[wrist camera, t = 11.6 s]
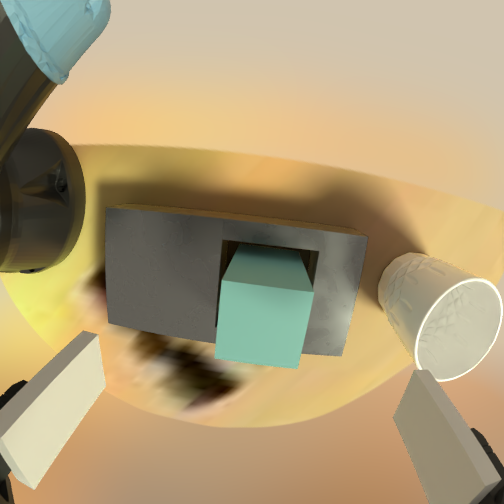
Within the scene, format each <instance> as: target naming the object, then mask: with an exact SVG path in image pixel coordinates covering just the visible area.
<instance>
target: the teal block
mask: <svg viewBox="0 0 504 504" xmlns="http://www.w3.org/2000/svg"><path fill="white" fill-rule="evenodd" d="M313 296H314V290H313V288H312V285H311V282H310V280H309V277H308V275H307V272H306V269H305V267H304V264H303V262H302V259H301V257H300V254H299V252H298V251H292V250H285V249H277V248H270V247H263V246H255V245H248V244H239V246H238V248H237V250H236V252H235V254H234V256H233V258H232V260H231V262H230V264H229V266H228V268H227V270H226V273H225V275H224V277H223V279H222V283H221V293H220V303H219V314H218V325H217V336H216V347H215V358H216V359H223V360H229V361H236V362H243V363H250V364H258V365H266V366H274V367H284V368H293V369H298V365H299V360H300V356H301V352H302V348H303V343H304V339H305V334H306V330H307V325H308V321H309V316H310V311H311V306H312V301H313Z"/></svg>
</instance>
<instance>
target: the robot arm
mask: <svg viewBox="0 0 504 504" xmlns="http://www.w3.org/2000/svg"><path fill="white" fill-rule="evenodd" d="M110 13H111V5H110V1H109V0H0V272H5V273H17V272H20V273H27V274H33V273H39V272H42V271H44V270H47V269H49V268H51V267H53V266H55V265H57V264H59V263H60V262H62V261H63V260H64V259H65V258H66V257H67V256H68V255H69V253H70V252H71V251H72V249H73V248H74V246H75V244H76V242H77V240H78V237H79V235H80V232H81V229H82V225H83V220H84V214H85V202H86V196H85V183H84V177H83V173H82V169H81V166H80V163H79V160H78V158H77V156H76V154H75V152H74V150H73V149H72V147H71V146H70V145H69V143H68V142H67V141H66V140H65V139H64V138H63V137H62V136H60V135H59V134H57V133H55V132H52V131H49V130H44V129H37V128H27V126H28V125H29V124H30V122H31V120H32V119H33V118H34V116H35V115H36V113H37V112H38V110H39V109H40V108H41V106H42V105H43V103H44V102H45V101H46V99H47V98H48V97H49V95H50V94H51V93H52V91H53V90H54V89H55V87H56V86H57V85H58V84H63V83H64V82H65V81H66V80H67V78H68V76H69V71H70V70H71V68H72V67H73V66H74V65H75V63H76V62H77V61H78V60H79V58H80V57H81V56H82V55H83V54H84V53H85V51H86V50H87V49H88V48H89V47H90V46H91V44H92V43H93V42H94V41H95V40H96V39H97V38H98V37H99V36H100V34H101V33H102V32H103V30H104V29H105V27H106V25H107V24H108V21H109V18H110ZM26 128H27V129H26ZM105 387H106V383H105V377H104V371H103V365H102V359H101V352H100V345H99V337H98V334H94V333H91V332H87V331H82V332H81V333H80V334H79V335H78V336H77V337H76V338H74V339H73V340H72V341H71V342H70V343H69V344H68V345H67V346H66V347H65V348H64V349H63V350H61V351H60V352H59V353H58V354H57V355H56V356H55V357H54V358H53V359H52V360H51V361H50V362H49V363H48V364H47V365H46V366H44V367H43V368H42V369H41V370H40V371H39V372H38V373H37V374H36V375H35V376H34V377H33V378H32V379H31V380H30V381H29V382H27V381H25V380H22V381H20V382H18V383H16V384H14V385H12V386H11V387H10V388H9V389H8V390H7V391H6V392H5V393H4V395H3V394H2V395H1V396H0V504H15V503H14V499H13V494H12V488H11V482H10V479H9V477H8V474H9V473H10V471H12V473H13V474H14V475H15V477H16V478H17V480H19V481H20V482H22V483H23V484H25V485H27V486H29V487H30V488H32V489H34V490H35V488H36V487H37V485H38V484H39V482H40V481H41V479H42V478H43V476H44V475H45V473H46V471H47V470H48V468H49V467H50V465H51V464H52V462H53V461H54V460H55V458H56V457H57V455H58V453H59V452H60V450H61V449H62V448H63V446H64V445H65V443H66V442H67V440H68V439H69V437H70V436H71V434H72V433H73V432H74V430H75V429H76V427H77V426H78V424H79V423H80V422H81V420H82V419H83V417H84V416H85V414H86V413H87V411H88V410H89V408H90V407H91V406H92V405H93V403H94V402H95V400H96V399H97V398H98V396H99V394H100V393H101V392H102V391H103V389H104V388H105ZM393 419H394V421H395V423H396V425H397V428H398V430H399V432H400V435H401V437H402V439H403V441H404V443H405V446H406V448H407V450H408V453H409V455H410V458H411V460H412V462H413V465H414V467H415V469H416V472H417V474H418V477H419V479H420V482H421V484H422V486H423V489H424V492H425V494H426V497H427V499H428V502H429V504H504V467H503V465H502V464H501V462H500V461H499V459H498V457H497V456H496V454H495V453H493V450H492V448H491V447H490V446H488V442H487V441H486V439H485V438H484V436H483V435H482V434H481V433H480V432H478V431H477V430H476V429H474V428H471V429H470V428H469V426H468V425H467V424H466V422H465V421H464V419H463V418H462V416H461V415H460V413H459V412H458V410H457V409H456V407H455V406H454V405H453V403H452V402H451V400H450V399H449V398H448V396H447V395H446V393H445V392H444V391H443V389H442V388H441V386H440V385H439V383H438V382H437V381H436V379H435V378H434V377H433V375H432V374H431V372H430V371H429V370H428V369H426V370H414V371H413V374H412V376H411V379H410V381H409V383H408V386H407V388H406V390H405V393H404V395H403V397H402V399H401V401H400V404H399V406H398V408H397V410H396V412H395V414H394V416H393Z"/></svg>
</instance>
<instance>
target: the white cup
mask: <svg viewBox="0 0 504 504" xmlns="http://www.w3.org/2000/svg"><path fill="white" fill-rule="evenodd" d="M378 302H379V303H380V305H381V307H382V309H383V311H384V313H385V314H386V316H387V317H388V321H389V322H390V324H391V326H392V327H393V329H394V331H395V332H396V334H397V336H398V338H399V339H400V341H401V342H402V344H403V346H404V347H405V349H406V350H407V352H408V353H409V355H410V357H411V358H412V360H413V362H414V363H415V365H416V366H417V368H418V370H426V369H428V370H429V371H430V372H431V374H432V375H433V377H434V378H435V379H436V381H448V380H452V379H455V378H458V377H460V376H462V375H464V374H466V373H467V372H469V371H470V370H471V369H473V368H474V367H475V366H476V365H477V364H478V363H479V362H480V361H481V360H482V359H483V358H484V357H485V356H486V354H487V353H488V352H489V350H490V348H491V347H492V345H493V343H494V342H495V339H496V337H497V335H498V332H499V329H500V326H501V321H502V314H503V307H502V300H501V296H500V293H499V291H498V290H497V288H496V287H495V285H494V284H493V283H491V282H490V281H488V280H486V279H484V278H482V277H480V276H477V275H475V274H473V273H471V272H469V271H466V270H464V269H462V268H460V267H457V266H455V265H453V264H450V263H447V262H444V261H442V260H440V259H436V258H433V257H430V256H428V255H425V254H422V253H412V252H409V253H406V254H404V255H402V256H399V257H397V258H395V259H394V260H393V261H392V262H391V263H390V264H389V265H388V266H387V267H386V268H385V270H384V271H383V274H382V276H381V279H380V281H379V284H378Z"/></svg>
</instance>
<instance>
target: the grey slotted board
mask: <svg viewBox="0 0 504 504" xmlns="http://www.w3.org/2000/svg"><path fill="white" fill-rule="evenodd" d="M228 240H232V241H240V242H249V243H257V244H265V245H274V246H282V247H290V248H298V249H306V250H311V251H310V257H309V264H308V270H307V275H308V277H309V280H310V282H311V285H312V288H313V290H314V296H313V301H312V306H311V311H310V316H309V321H308V325H307V330H306V334H305V339H304V343H303V348H302V352H301V354H314V355H328V356H342V352H343V349H344V345H345V341H346V338H347V334H348V330H349V326H350V322H351V318H352V314H353V309H354V305H355V301H356V296H357V292H358V287H359V283H360V278H361V273H362V268H363V263H364V258H365V252H366V247H367V241H368V237H367V236H366V235H364V234H362V233H361V232H359V231H357V230H356V229H353V228H346V227H339V226H332V225H325V224H317V223H310V222H302V221H295V220H287V219H279V218H271V217H262V216H254V215H245V214H236V213H227V212H218V211H208V210H198V209H188V208H178V207H167V206H156V205H144V204H132V203H126V204H120V205H115V206H110V207H106V222H105V269H106V295H107V311H108V323H110V324H115V325H119V326H123V327H128V328H133V329H137V330H142V331H147V332H152V333H157V334H162V335H168V336H173V337H179V338H184V339H190V340H196V341H202V342H209V343H215V344H216V336H217V325H218V314H219V303H220V293H221V283H222V279H223V277H224V275H225V271H226V260H227V249H228Z"/></svg>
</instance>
